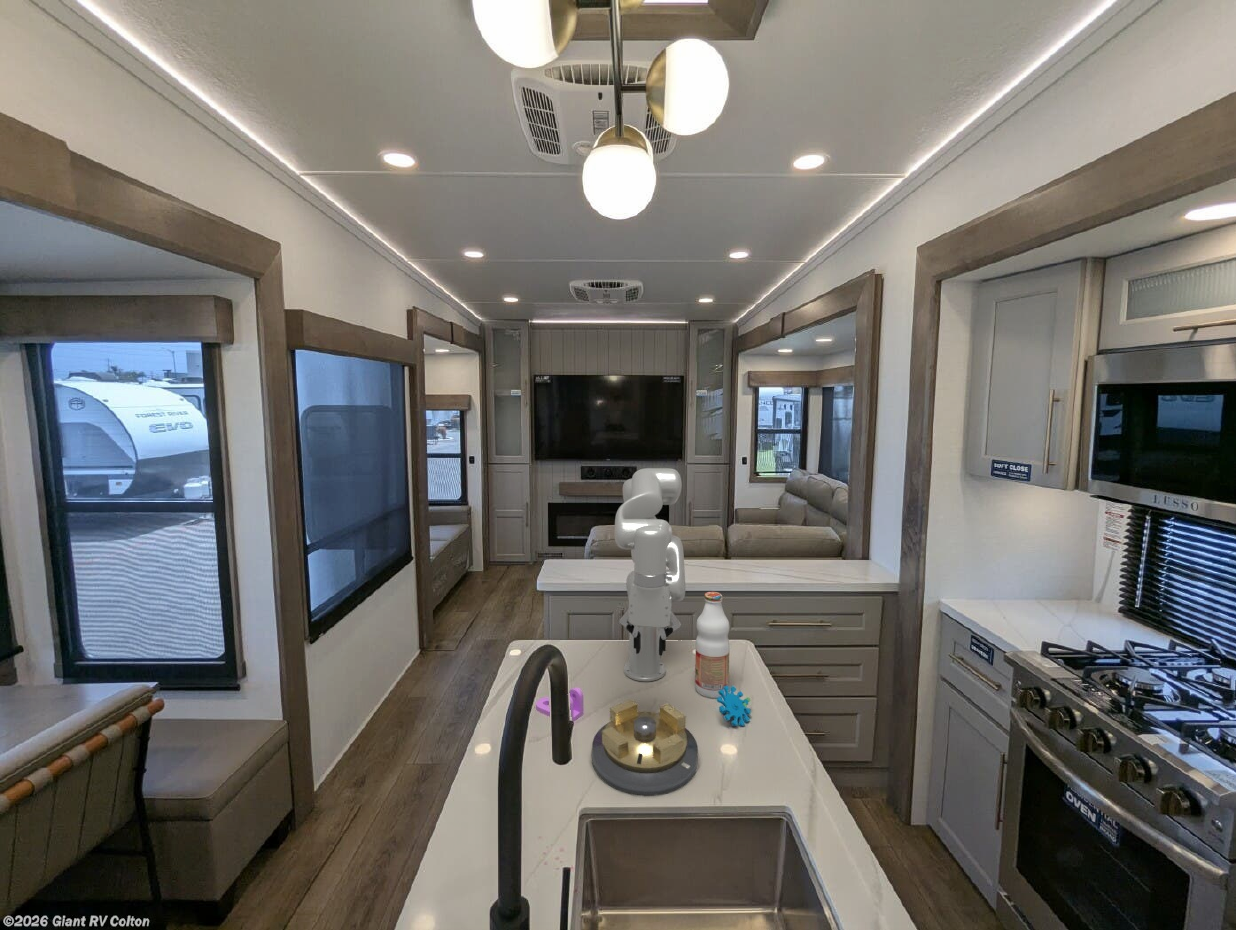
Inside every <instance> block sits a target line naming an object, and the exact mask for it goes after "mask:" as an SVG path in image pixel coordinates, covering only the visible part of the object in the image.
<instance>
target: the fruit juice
mask: <svg viewBox="0 0 1236 930" xmlns="http://www.w3.org/2000/svg"><path fill="white" fill-rule="evenodd" d="M723 599H724V598H723V594H722V593H720V592H717V591H708V592H705V593H704V601H705V603H704V606H703V610H702V612H701V614H700V615H699V616H698V618H697V620H696V630H697V636H696V639H695V655H694V656H695V658H694V660H695V665H694V667H695V668H694V669H695V671H694V673H695V674H694V688H695V691H696V692H697V693H698V694H699V695H701V696H703V697H705V698H710V699H717V698H718V697H719V696H721V695H720V694H719V693H718V691H720V690H721V689H723V687H724V686H729V685H730V684H729V683H730V681H729V680H730V678H729V677H730V649H731V648H730V640H729V637H728V636H729V632H730V621H729V620H728V618H727V616H726V614H725V611H724V609H723V605H722V602H723ZM729 687H730V686H729ZM723 690H724V689H723ZM724 695H725V696H726V694H725V691H724ZM721 697H722V696H721Z"/></svg>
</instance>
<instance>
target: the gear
mask: <svg viewBox="0 0 1236 930" xmlns="http://www.w3.org/2000/svg"><path fill="white" fill-rule="evenodd" d="M723 689H724V690H723ZM723 689H721V690H720V691H718V693H719V694H720V695H721V696H722V697H721V696H719V697H718V698H716V702H717V703H719V704H721V705H720V706H718V710H719V712H720V713H721V715H724V716H723V718H724V720H725V721H726V722H728V721H729V720H731V717H732V718H733V720H732V721H730V722H731V725H732V726H733V727H736V726H739V727H744V726H745V725H746V724H745V723H747V722H749V721H750V720H751V719H750V717H749V715H751V712H752V710H751V709H750V708H748V707H747V706H748V705H749V702H751V698H750V697H746V698H744V699H741V698H742V697H743V696H744V693H743V692H742V690H740V691H738V692H737V693H736V694H735V693H734V692H736V691H737V688H736V686H734V685H732V686H724V687H723ZM724 691H725V694H726V695H724ZM729 691H730V692H729ZM738 719H739V722H738Z"/></svg>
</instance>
